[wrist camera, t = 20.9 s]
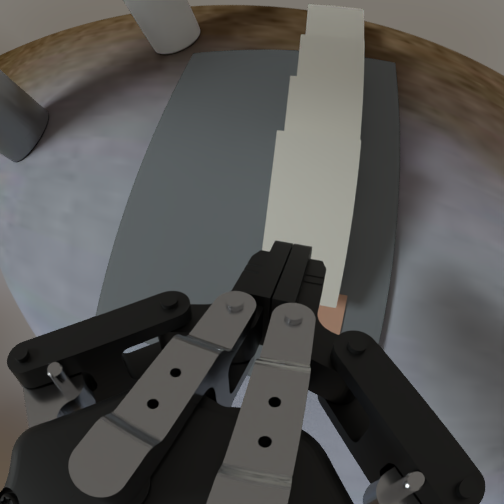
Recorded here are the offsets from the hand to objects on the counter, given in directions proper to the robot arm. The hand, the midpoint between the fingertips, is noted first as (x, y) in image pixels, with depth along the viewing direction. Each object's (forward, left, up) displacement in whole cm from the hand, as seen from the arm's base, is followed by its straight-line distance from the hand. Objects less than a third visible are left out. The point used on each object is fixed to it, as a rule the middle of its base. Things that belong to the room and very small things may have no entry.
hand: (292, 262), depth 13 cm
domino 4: (0, -1, -7) cm, 7 cm away
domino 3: (0, +4, -7) cm, 9 cm away
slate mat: (-5, +8, -9) cm, 13 cm away
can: (-20, +27, -9) cm, 35 cm away
